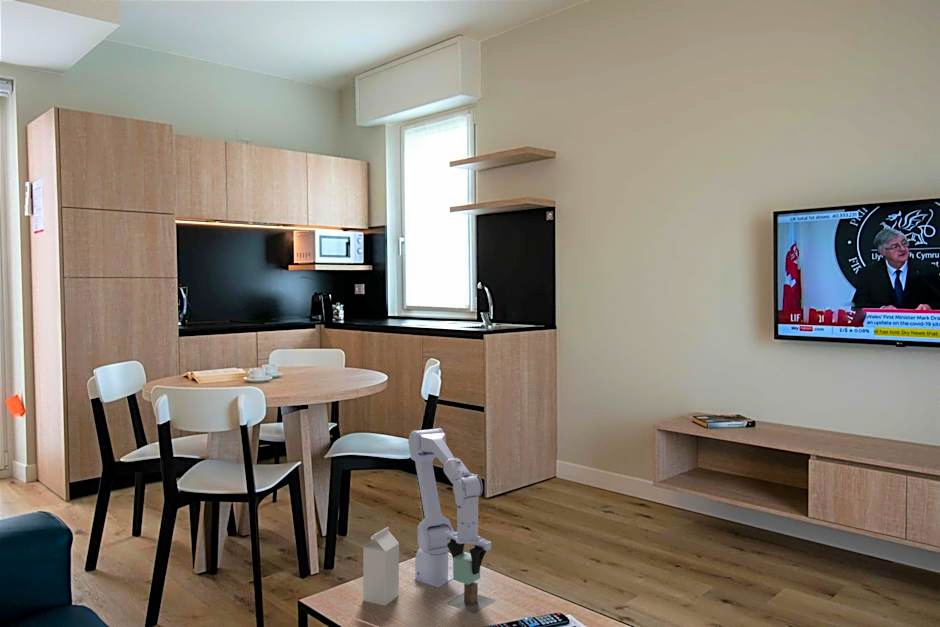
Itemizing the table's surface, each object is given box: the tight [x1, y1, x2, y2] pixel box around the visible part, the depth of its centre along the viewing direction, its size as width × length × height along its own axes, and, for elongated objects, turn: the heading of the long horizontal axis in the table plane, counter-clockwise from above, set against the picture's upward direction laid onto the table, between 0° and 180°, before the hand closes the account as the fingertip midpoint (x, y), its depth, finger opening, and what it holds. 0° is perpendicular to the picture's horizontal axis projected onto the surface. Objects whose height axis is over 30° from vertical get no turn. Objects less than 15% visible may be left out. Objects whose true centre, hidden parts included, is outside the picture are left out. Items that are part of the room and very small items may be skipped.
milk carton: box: [362, 526, 400, 606], centre depth 186 cm, size 7×7×19 cm
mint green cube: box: [452, 551, 481, 585], centre depth 184 cm, size 5×5×6 cm
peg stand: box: [445, 581, 497, 614], centre depth 185 cm, size 10×10×5 cm
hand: (467, 570), depth 184 cm, fingers closed on mint green cube, 5 cm apart
